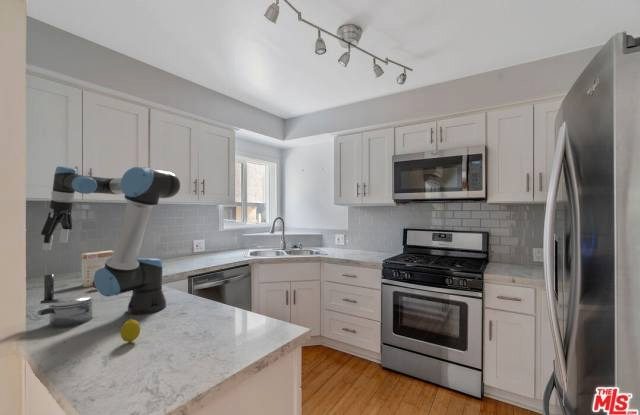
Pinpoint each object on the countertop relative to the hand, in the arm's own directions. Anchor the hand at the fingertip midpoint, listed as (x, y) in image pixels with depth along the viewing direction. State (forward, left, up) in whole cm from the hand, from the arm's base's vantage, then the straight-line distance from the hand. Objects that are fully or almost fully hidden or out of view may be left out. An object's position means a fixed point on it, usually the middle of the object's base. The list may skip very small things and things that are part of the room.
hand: (55, 246), depth 131 cm
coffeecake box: (+6, -47, -29) cm, 56 cm away
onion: (-2, -32, -29) cm, 43 cm away
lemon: (-50, +44, -29) cm, 72 cm away
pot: (-17, +20, -29) cm, 39 cm away
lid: (-16, +19, -20) cm, 32 cm away
